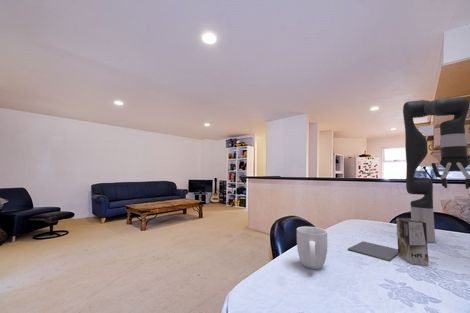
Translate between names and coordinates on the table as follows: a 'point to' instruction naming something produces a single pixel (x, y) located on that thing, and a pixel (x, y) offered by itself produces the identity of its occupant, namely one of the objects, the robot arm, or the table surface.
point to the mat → (375, 250)
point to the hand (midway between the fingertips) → (456, 188)
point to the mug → (312, 246)
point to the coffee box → (412, 241)
